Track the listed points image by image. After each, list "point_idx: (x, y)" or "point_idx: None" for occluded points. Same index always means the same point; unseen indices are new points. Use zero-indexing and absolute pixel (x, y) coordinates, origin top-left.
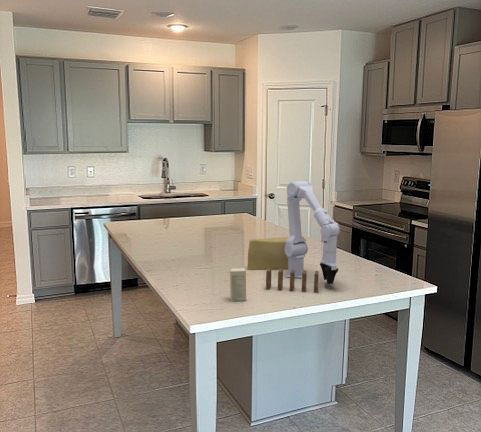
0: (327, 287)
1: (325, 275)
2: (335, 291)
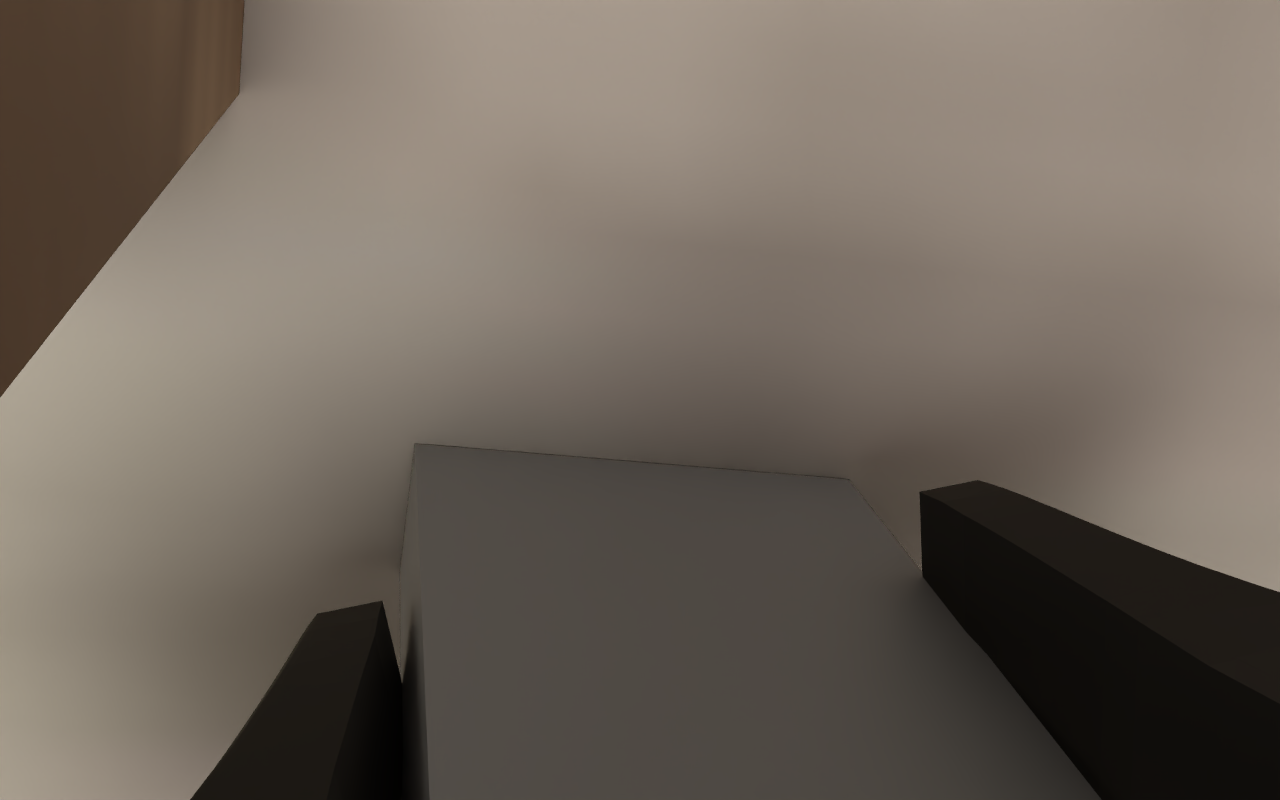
0: (413, 506)
1: (1027, 644)
2: (73, 734)
